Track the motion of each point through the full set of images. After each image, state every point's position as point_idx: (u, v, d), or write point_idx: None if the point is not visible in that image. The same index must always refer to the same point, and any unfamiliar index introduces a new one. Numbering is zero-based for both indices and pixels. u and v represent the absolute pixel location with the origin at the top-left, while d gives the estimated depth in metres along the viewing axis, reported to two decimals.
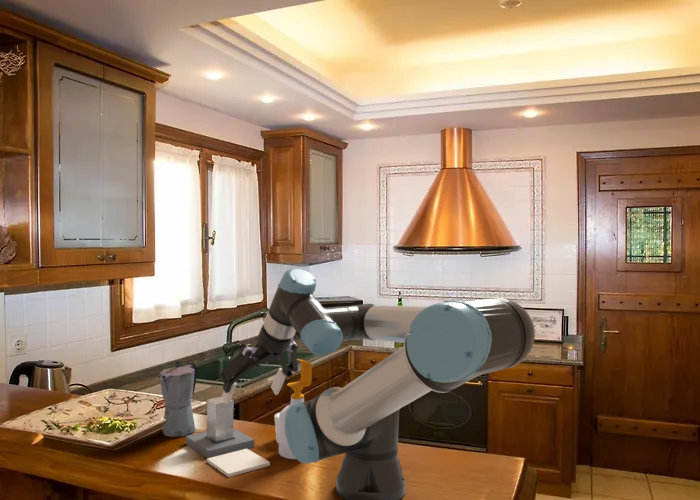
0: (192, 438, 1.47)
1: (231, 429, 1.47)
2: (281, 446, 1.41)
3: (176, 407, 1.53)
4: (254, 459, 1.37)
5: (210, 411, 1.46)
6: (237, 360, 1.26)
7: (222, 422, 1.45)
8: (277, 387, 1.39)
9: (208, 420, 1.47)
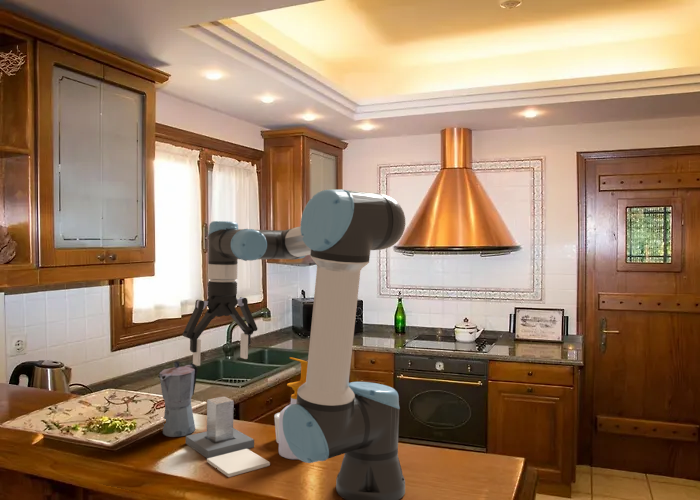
0: (192, 438, 1.47)
1: (231, 429, 1.47)
2: (281, 446, 1.41)
3: (176, 407, 1.53)
4: (254, 459, 1.37)
5: (210, 411, 1.46)
6: (194, 314, 1.42)
7: (222, 422, 1.45)
8: (244, 350, 1.51)
9: (208, 420, 1.47)
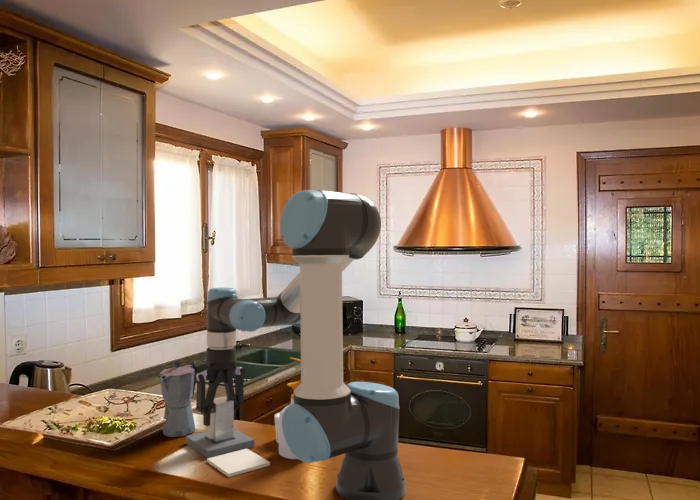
0: (192, 438, 1.47)
1: (231, 429, 1.47)
2: (281, 446, 1.41)
3: (176, 407, 1.53)
4: (254, 459, 1.37)
5: None
6: (198, 388, 1.43)
7: (222, 422, 1.45)
8: None
9: None
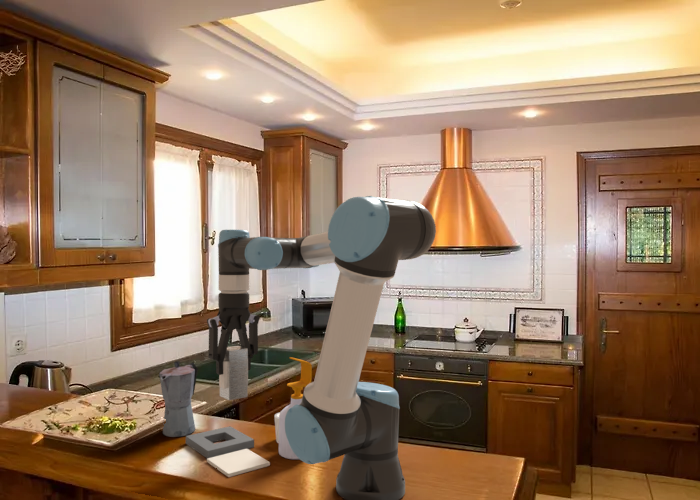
0: (192, 438, 1.47)
1: (245, 378, 1.39)
2: (281, 446, 1.41)
3: (176, 407, 1.53)
4: (254, 459, 1.37)
5: None
6: (210, 334, 1.36)
7: (236, 371, 1.37)
8: None
9: None
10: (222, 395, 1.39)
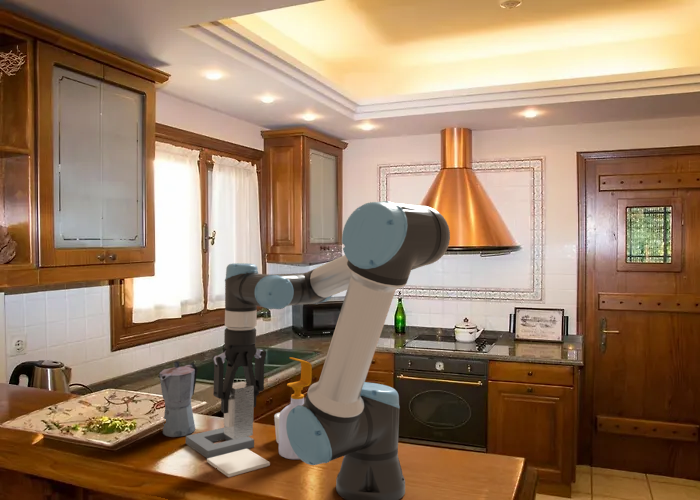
0: (192, 438, 1.47)
1: (251, 417, 1.35)
2: (281, 446, 1.41)
3: (176, 407, 1.53)
4: (254, 459, 1.37)
5: None
6: (216, 372, 1.32)
7: (242, 409, 1.34)
8: None
9: None
10: (227, 433, 1.35)
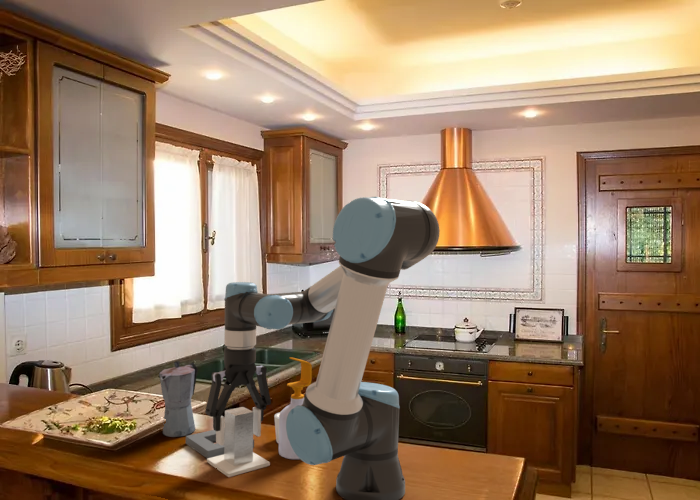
0: (192, 438, 1.47)
1: (251, 443, 1.35)
2: (281, 446, 1.41)
3: (176, 407, 1.53)
4: (254, 459, 1.37)
5: (228, 423, 1.35)
6: (212, 389, 1.31)
7: (242, 435, 1.34)
8: (257, 427, 1.38)
9: (226, 433, 1.36)
10: (227, 459, 1.35)
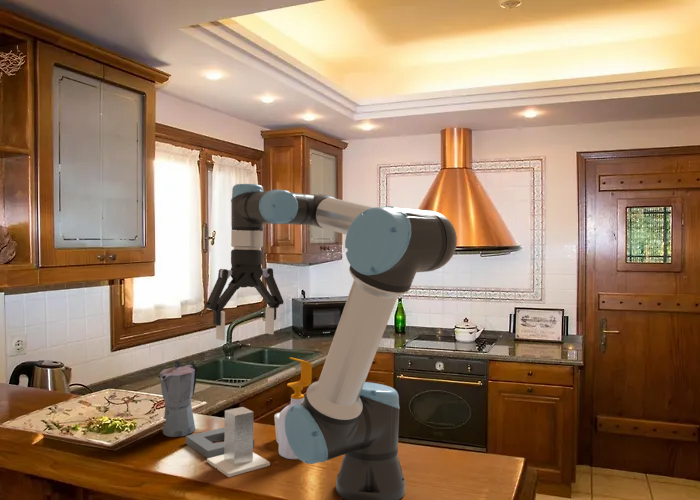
0: (192, 438, 1.47)
1: (251, 443, 1.35)
2: (281, 446, 1.41)
3: (176, 407, 1.53)
4: (254, 459, 1.37)
5: (228, 423, 1.35)
6: (217, 284, 1.31)
7: (242, 435, 1.34)
8: (270, 325, 1.40)
9: (226, 433, 1.36)
10: (227, 459, 1.35)
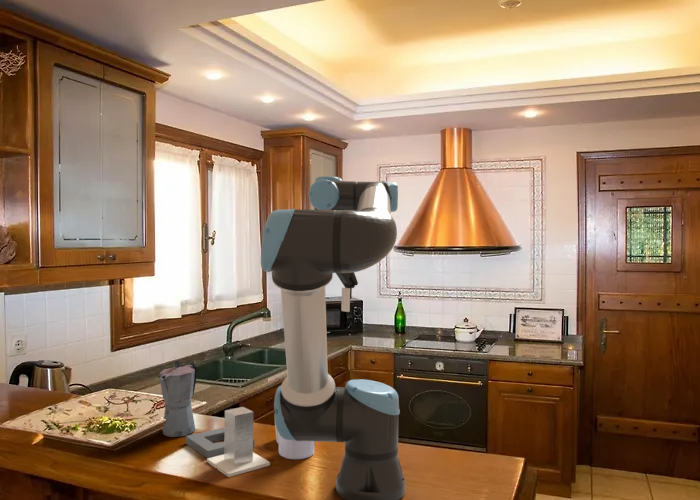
0: (192, 438, 1.47)
1: (251, 443, 1.35)
2: (281, 446, 1.41)
3: (176, 407, 1.53)
4: (254, 459, 1.37)
5: (228, 423, 1.35)
6: None
7: (242, 435, 1.34)
8: (346, 303, 1.56)
9: (226, 433, 1.36)
10: (227, 459, 1.35)
